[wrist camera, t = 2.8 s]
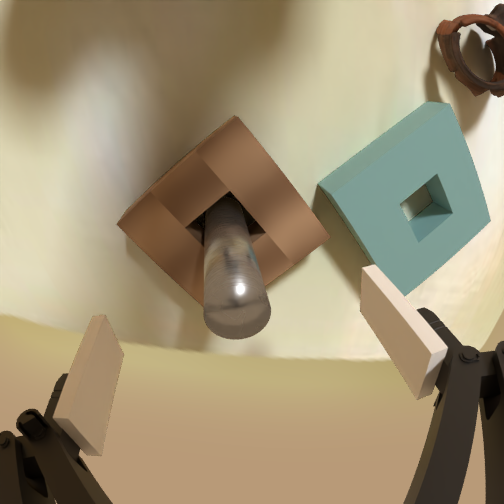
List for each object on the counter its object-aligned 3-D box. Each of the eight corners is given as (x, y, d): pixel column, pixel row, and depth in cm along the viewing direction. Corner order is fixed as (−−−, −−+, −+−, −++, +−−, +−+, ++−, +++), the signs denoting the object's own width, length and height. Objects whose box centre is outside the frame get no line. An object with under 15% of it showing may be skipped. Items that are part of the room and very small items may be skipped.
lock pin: (197, 213, 27) (189, 312, 15) (226, 189, 27) (242, 272, 14) (221, 238, 29) (233, 349, 16) (250, 216, 28) (283, 315, 16)
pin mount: (126, 209, 26) (116, 224, 23) (234, 115, 24) (238, 117, 21) (216, 297, 31) (218, 319, 28) (317, 221, 29) (330, 237, 26)
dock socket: (317, 183, 27) (331, 194, 24) (427, 101, 25) (449, 103, 22) (383, 283, 33) (398, 301, 30) (471, 209, 31) (490, 220, 28)
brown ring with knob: (487, 110, 26) (511, 119, 20) (418, 66, 27) (426, 62, 21) (520, 31, 19) (548, 22, 12) (450, -14, 20) (463, -36, 14)
